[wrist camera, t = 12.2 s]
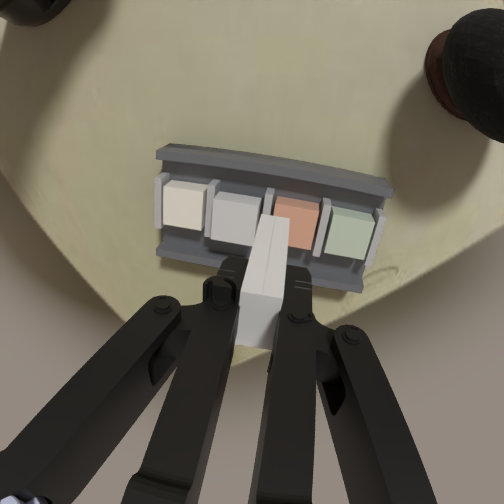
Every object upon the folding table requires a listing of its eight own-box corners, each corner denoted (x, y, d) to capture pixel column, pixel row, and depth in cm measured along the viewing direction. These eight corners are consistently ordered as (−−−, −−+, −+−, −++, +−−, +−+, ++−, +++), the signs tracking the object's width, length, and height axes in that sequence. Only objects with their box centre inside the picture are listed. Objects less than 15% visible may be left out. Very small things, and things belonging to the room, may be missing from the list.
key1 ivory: (170, 215, 38) (163, 224, 36) (171, 179, 36) (163, 186, 34) (206, 221, 38) (201, 230, 35) (209, 185, 35) (203, 191, 33)
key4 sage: (323, 242, 36) (324, 252, 34) (331, 205, 34) (333, 214, 32) (360, 249, 36) (363, 260, 34) (371, 213, 34) (375, 222, 32)
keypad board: (168, 240, 42) (155, 257, 38) (170, 143, 36) (154, 151, 32) (357, 275, 40) (361, 295, 36) (385, 178, 34) (395, 190, 30)
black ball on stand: (437, 140, 31) (506, 178, 18) (399, 29, 25) (457, -1, 12) (519, 119, 26) (599, 148, 13) (490, 17, 21) (567, 1, 8)
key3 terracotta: (271, 233, 37) (269, 242, 35) (277, 195, 35) (275, 203, 33) (310, 240, 37) (310, 250, 35) (318, 203, 34) (319, 211, 32)
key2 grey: (216, 229, 36) (210, 239, 34) (219, 191, 34) (213, 198, 32) (256, 236, 36) (252, 246, 34) (261, 197, 34) (258, 206, 31)
